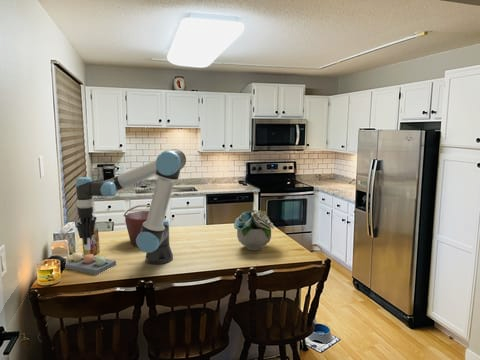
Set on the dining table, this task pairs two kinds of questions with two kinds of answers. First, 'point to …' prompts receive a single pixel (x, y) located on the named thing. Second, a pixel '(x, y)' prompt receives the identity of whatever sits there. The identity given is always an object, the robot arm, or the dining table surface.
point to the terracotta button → (88, 259)
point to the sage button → (100, 261)
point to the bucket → (135, 222)
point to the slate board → (89, 266)
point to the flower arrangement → (253, 229)
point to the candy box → (93, 244)
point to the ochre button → (77, 257)
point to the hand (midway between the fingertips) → (87, 249)
